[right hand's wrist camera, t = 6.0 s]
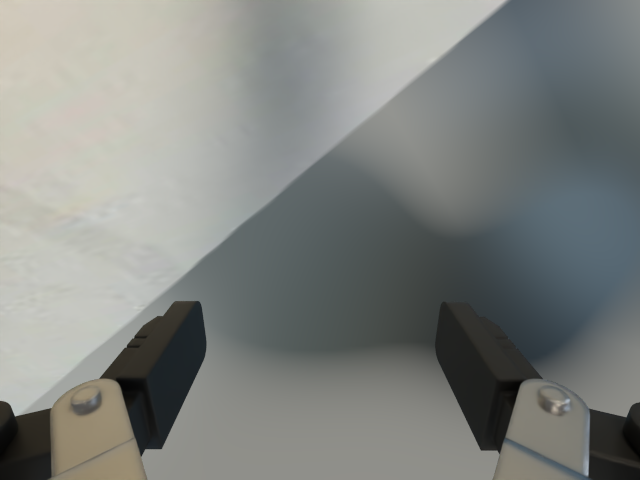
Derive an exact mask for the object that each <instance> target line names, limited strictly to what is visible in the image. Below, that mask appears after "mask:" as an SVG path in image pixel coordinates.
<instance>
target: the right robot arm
mask: <svg viewBox="0 0 640 480" xmlns="http://www.w3.org/2000/svg"><path fill="white" fill-rule="evenodd" d="M435 348H436V355H437V359H438V361H439V363H440V365H441V368H442V370H443V372H444V374H445V376H446V378H447V380H448V382H449V384H450V386H451V389H452V391H453V393H454V395H455V397H456V399H457V401H458V403H459V405H460V407H461V410H462V412H463V414H464V416H465V418H466V420H467V422H468V424H469V426H470V428H471V431H472V433H473V435H474V437H475V439H476V441H477V443H478V445H479V447H480V449H481V450H498V452H499V454H500V456H499V459H498V463H497V466H496V470H495V473H494V476H493V480H640V403H636V404H634V405H632V406H631V408H630V410H629V413H628V415H627V418H626V417H622V416H617V415H613V414H609V413H605V412H600V411H596V410H592V409H588V407H587V405H586V404H585V402H584V401H583V400H582V399H581V398H580V397H579V396H578V395H577V394H575V393H574V392H573V391H571V390H569V389H568V388H566V387H564V386H562V385H560V384H558V383H555V382H552V381H549V380H544V379H543V378H542V377H541V376H540V375H539V374H538V372H537V371H536V370H535V369H534V368H533V367H532V365H531V364H530V363H529V362H528V361H527V359H526V358H525V357H524V356H523V355H522V353H521V352H520V351H519V350H518V349H516V347H515V345H514V344H513V343H512V341H511V340H510V339H508V337H507V336H506V334H505V333H504V332H503V331H502V330H501V328H500V327H499V326H498V325H496V324H495V323H493V322H492V321H490V320H488V319H487V318H485V317H479V316H478V315H477V314H476V312H475V311H474V310H473V308H472V307H471V306H470V305H469V303H468V302H443V303H442V304H441V307H440V312H439V320H438V327H437V334H436V342H435ZM205 353H206V335H205V328H204V320H203V313H202V307H201V304H200V302H199V301H175V302H174V303H173V304H172V305H171V307H170V308H169V309H168V310H167V312H166V313H165V314H164V316H157V317H156V318H154V319H153V320H151V321H150V322H148V323H147V324H145V325H144V326H143V327H142V328H141V329H140V330H139V332H138V333H137V334H136V335H135V337H134V339H132V340H131V341H130V342H129V344H128V345H127V348H124V350H123V351H122V352H121V353H120V354H119V356H118V357H117V358H116V359H115V360H114V362H113V363H112V364H111V365H110V366H109V368H108V369H107V370H106V371H105V372H104V374H103V375H102V376H101V377H100V378H99V379H96V380H91V381H88V382H85V383H82V384H80V385H78V386H76V387H74V388H72V389H71V390H69V391H67V392H66V393H65V394H63V395H62V396H61V397H60V398H59V399H58V400H57V401H56V402H55V404H54V405H53V407H52V408H50V409H46V410H42V411H38V412H33V413H29V414H25V415H20V416H16V417H15V416H14V413H13V411H12V408H11V406H10V405H9V404H8V403H6V402H3V401H0V480H147V476H146V473H145V469H144V466H143V463H142V459H141V456H142V454H143V452H144V450H145V449H162V447H163V445H164V443H165V441H166V439H167V436H168V434H169V432H170V430H171V428H172V426H173V424H174V422H175V419H176V417H177V415H178V413H179V411H180V409H181V407H182V405H183V403H184V400H185V398H186V396H187V394H188V392H189V390H190V388H191V386H192V384H193V381H194V379H195V377H196V375H197V373H198V371H199V369H200V367H201V364H202V362H203V360H204V357H205Z"/></svg>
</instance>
